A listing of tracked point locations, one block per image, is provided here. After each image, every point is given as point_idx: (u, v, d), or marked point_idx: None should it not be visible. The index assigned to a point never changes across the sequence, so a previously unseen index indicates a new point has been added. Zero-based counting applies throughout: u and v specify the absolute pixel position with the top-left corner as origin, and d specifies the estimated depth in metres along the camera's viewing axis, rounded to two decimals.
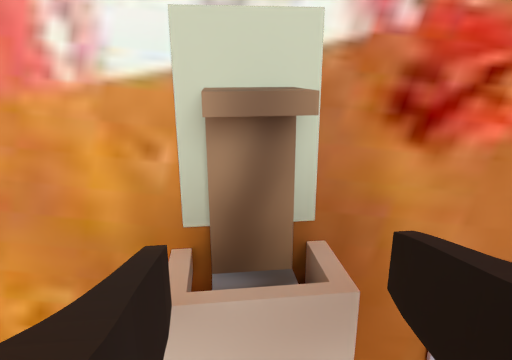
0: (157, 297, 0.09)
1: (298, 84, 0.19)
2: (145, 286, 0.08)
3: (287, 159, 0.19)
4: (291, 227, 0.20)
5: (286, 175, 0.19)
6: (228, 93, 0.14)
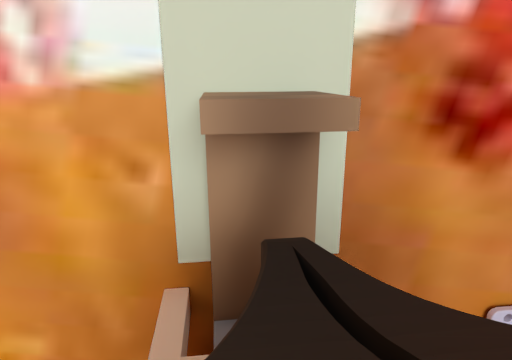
0: None
1: (322, 88, 0.15)
2: None
3: (307, 182, 0.15)
4: None
5: (306, 202, 0.16)
6: (236, 102, 0.10)
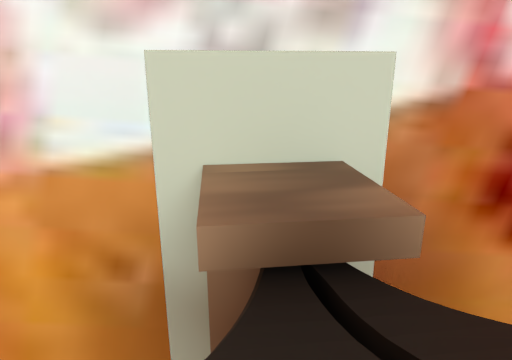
0: None
1: None
2: None
3: None
4: None
5: None
6: (250, 228, 0.07)
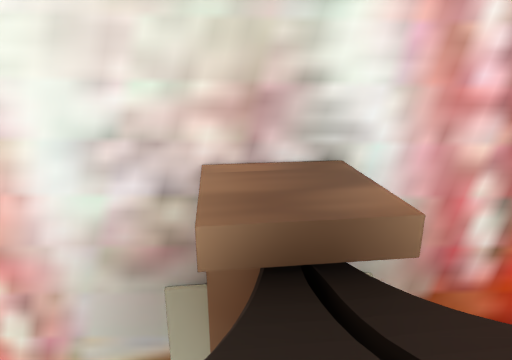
0: None
1: None
2: None
3: None
4: None
5: None
6: (249, 228, 0.07)
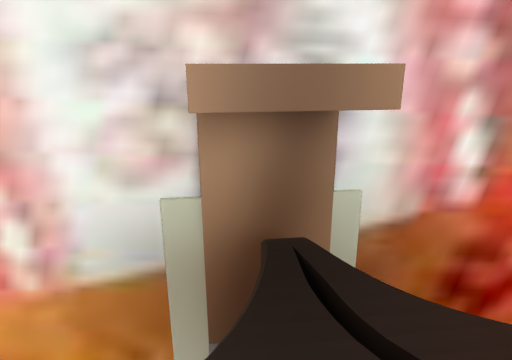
0: None
1: None
2: None
3: (322, 178, 0.13)
4: None
5: (320, 202, 0.13)
6: (237, 68, 0.07)
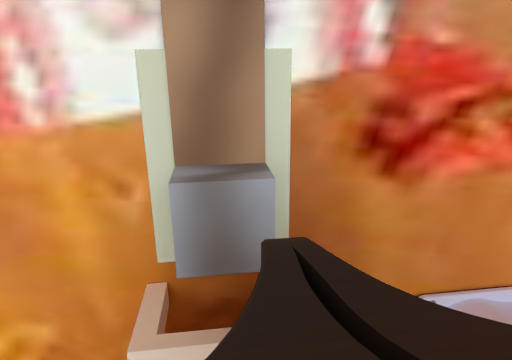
0: None
1: (267, 123, 0.19)
2: None
3: (255, 26, 0.17)
4: (262, 111, 0.18)
5: (254, 46, 0.17)
6: None
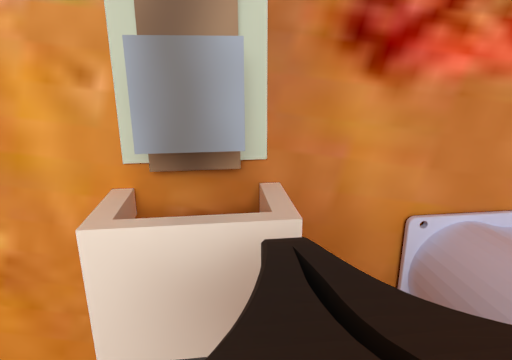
0: None
1: (242, 3, 0.18)
2: None
3: None
4: None
5: None
6: None
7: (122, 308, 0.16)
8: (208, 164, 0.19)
